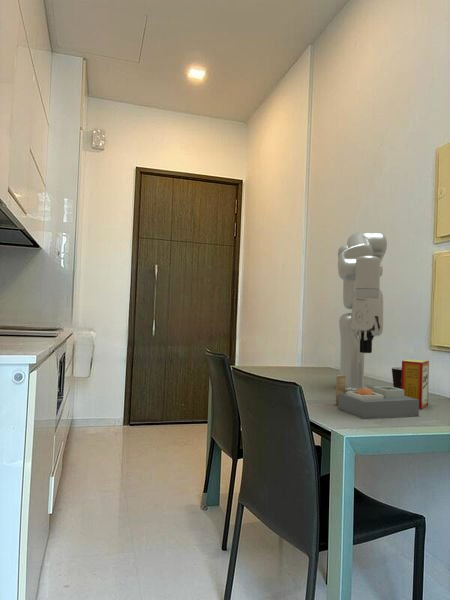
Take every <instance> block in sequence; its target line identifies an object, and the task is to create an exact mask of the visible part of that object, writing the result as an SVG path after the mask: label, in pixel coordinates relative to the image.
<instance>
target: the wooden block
mask: <svg viewBox="0 0 450 600" xmlns="http://www.w3.org/2000/svg"><path fill="white" fill-rule="evenodd" d="M345 378H346V376H344V375H340V374H336V377H335V379H336V380H335V381H336V382H335V383H336V384H335V405H336V406H337V407H338V402H339V393H346V390H345Z"/></svg>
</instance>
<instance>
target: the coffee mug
mask: <svg viewBox="0 0 450 600" xmlns="http://www.w3.org/2000/svg"><path fill="white" fill-rule="evenodd" d="M391 374H392V385H393V386H392V387H395V388H399V389H401V384H402V366H399V367H397V366H396V367H393V366H392V367H391Z"/></svg>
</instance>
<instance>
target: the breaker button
mask: <svg viewBox="0 0 450 600" xmlns="http://www.w3.org/2000/svg"><path fill="white" fill-rule="evenodd" d="M372 392H373V388H368V387H367V388H358V394H360V395H372Z"/></svg>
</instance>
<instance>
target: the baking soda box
mask: <svg viewBox="0 0 450 600" xmlns="http://www.w3.org/2000/svg"><path fill="white" fill-rule="evenodd" d="M401 367H402V384H401V389H403V390H404V396H407V397H411V398H414V399H418V400H419V410H422V409H424V408H425V407H428V406H429V376H430V375H429V373H430V372H429V368H430V361H429V360H427V359H426V360H425V359H413V358H409V359H408V358H405V359H404V360H402V361H401Z"/></svg>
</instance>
